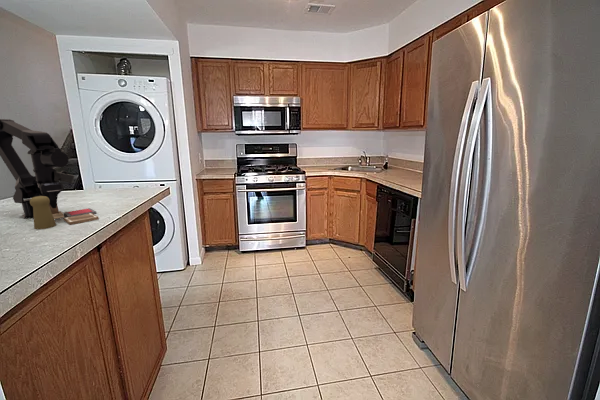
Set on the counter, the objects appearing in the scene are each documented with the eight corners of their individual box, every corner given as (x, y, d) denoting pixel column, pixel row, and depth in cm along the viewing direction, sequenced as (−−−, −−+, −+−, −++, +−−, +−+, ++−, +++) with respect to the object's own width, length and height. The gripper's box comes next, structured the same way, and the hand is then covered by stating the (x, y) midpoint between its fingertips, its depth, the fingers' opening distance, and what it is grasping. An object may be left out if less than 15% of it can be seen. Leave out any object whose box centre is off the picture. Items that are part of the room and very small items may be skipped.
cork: (43, 229, 99) (36, 198, 96) (29, 228, 100) (22, 198, 98) (60, 224, 105) (54, 195, 102) (47, 223, 106) (41, 194, 103)
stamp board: (63, 220, 109) (63, 217, 109) (91, 215, 116) (91, 212, 116) (69, 225, 104) (69, 222, 103) (98, 219, 110) (98, 216, 110)
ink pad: (64, 214, 118) (63, 212, 117) (90, 210, 124) (89, 207, 124) (69, 218, 112) (68, 215, 112) (96, 213, 118) (96, 211, 118)
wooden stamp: (45, 218, 113) (40, 196, 111) (61, 215, 116) (56, 194, 114) (47, 220, 110) (42, 197, 108) (64, 217, 113) (59, 195, 111)
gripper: (76, 166, 109) (83, 206, 112) (64, 163, 120) (71, 199, 124) (37, 168, 100) (46, 211, 104) (28, 165, 112) (37, 204, 116)
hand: (51, 206), depth 112 cm, fingers open, 9 cm apart
